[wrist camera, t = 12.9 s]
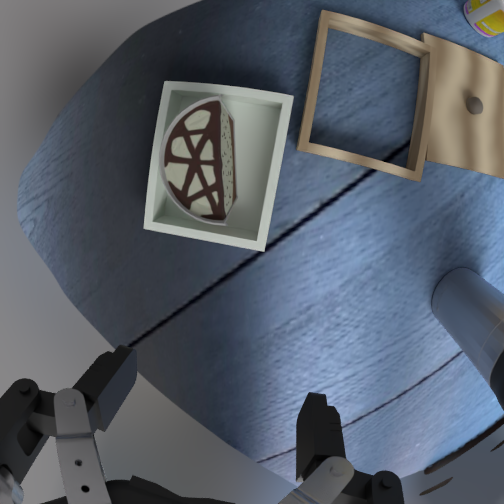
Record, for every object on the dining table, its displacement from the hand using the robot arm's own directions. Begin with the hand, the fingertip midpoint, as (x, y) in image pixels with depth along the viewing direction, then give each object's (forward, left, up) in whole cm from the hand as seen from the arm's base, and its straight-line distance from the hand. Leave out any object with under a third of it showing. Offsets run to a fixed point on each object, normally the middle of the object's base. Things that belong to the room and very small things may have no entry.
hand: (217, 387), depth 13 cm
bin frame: (-10, -20, -26) cm, 35 cm away
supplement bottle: (-27, -41, -27) cm, 56 cm away
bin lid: (-25, -24, -26) cm, 44 cm away
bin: (+6, -8, -26) cm, 28 cm away
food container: (+7, -8, -26) cm, 28 cm away
